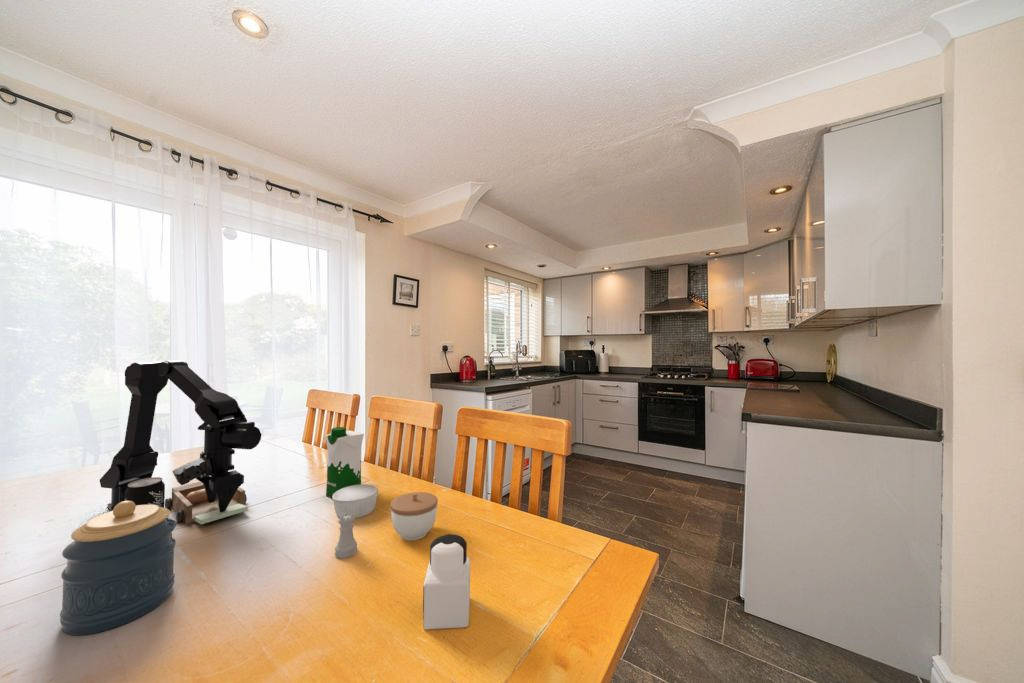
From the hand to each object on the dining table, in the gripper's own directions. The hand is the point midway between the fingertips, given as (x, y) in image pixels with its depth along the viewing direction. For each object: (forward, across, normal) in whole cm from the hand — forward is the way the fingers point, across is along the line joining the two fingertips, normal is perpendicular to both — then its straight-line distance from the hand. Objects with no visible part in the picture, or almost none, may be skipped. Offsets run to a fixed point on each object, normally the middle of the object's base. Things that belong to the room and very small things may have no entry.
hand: (216, 506), depth 93 cm
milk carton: (+2, +14, +27) cm, 30 cm away
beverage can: (+2, -2, -13) cm, 13 cm away
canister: (+2, +28, -20) cm, 35 cm away
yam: (+1, -10, 0) cm, 11 cm away
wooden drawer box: (+2, -8, 0) cm, 9 cm away
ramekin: (+2, +26, +23) cm, 35 cm away
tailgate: (+1, 0, 0) cm, 1 cm away
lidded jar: (+2, +48, +25) cm, 55 cm away
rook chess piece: (+2, +44, +11) cm, 45 cm away
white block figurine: (+2, +74, +12) cm, 75 cm away
